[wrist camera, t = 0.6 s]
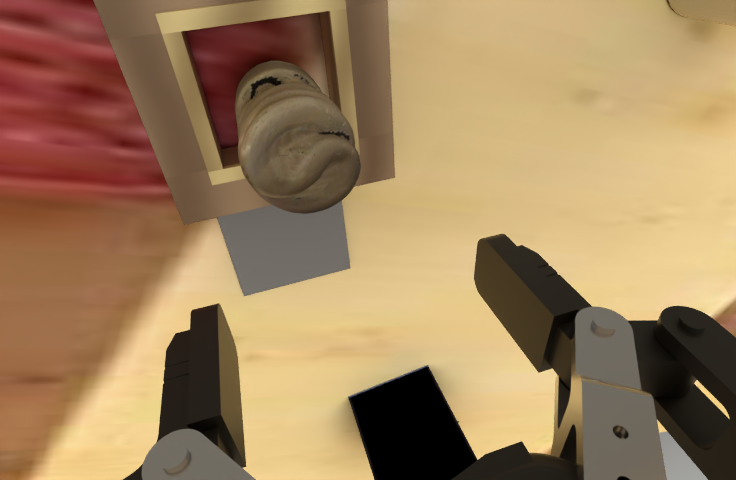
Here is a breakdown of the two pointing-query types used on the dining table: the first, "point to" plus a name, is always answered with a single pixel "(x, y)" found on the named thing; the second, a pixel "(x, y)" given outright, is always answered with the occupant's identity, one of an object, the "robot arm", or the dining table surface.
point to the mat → (284, 246)
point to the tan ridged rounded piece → (293, 140)
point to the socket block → (189, 105)
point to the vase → (411, 430)
